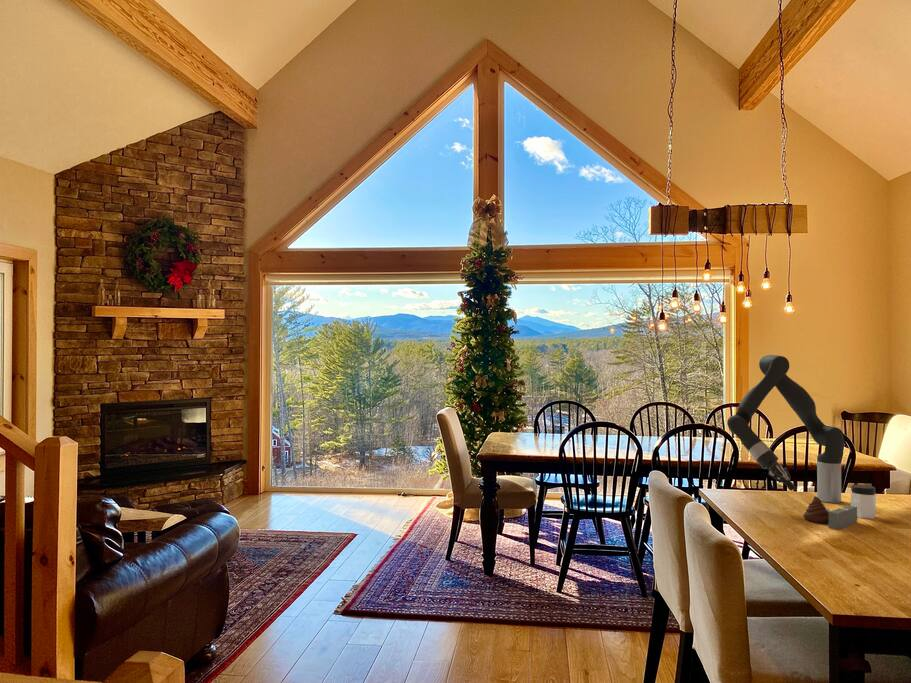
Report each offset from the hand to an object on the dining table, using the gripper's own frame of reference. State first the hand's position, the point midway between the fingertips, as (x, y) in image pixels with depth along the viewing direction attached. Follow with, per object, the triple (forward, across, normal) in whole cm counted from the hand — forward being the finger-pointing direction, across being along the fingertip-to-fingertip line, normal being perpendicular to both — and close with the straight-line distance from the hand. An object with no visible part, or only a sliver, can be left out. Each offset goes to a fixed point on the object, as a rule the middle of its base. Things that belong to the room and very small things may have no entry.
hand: (793, 489), depth 253 cm
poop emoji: (+14, -1, +1) cm, 14 cm away
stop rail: (+20, 0, -6) cm, 21 cm away
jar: (+20, +22, -5) cm, 30 cm away
